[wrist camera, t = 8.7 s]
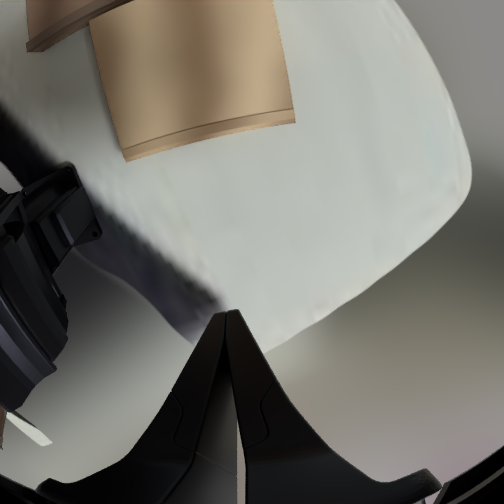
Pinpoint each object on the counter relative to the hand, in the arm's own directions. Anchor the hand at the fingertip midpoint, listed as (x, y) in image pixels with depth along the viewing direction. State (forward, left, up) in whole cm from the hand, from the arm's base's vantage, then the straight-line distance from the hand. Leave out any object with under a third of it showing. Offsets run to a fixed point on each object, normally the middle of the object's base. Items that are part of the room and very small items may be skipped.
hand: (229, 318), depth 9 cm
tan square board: (-1, +9, -12) cm, 15 cm away
